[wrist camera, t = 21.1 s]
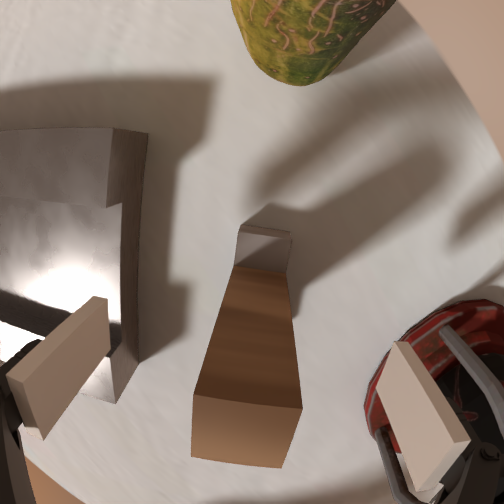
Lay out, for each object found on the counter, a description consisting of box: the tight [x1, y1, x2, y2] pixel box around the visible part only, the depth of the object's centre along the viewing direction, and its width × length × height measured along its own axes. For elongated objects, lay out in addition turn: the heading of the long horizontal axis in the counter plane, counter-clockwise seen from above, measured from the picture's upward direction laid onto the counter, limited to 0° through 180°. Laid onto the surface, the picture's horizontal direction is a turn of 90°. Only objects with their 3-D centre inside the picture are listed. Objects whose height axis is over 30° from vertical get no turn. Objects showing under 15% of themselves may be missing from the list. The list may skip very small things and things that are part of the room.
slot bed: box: [0, 128, 148, 404], centre depth 19 cm, size 17×20×5 cm
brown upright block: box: [191, 225, 303, 468], centre depth 15 cm, size 7×3×13 cm, turn 172°
